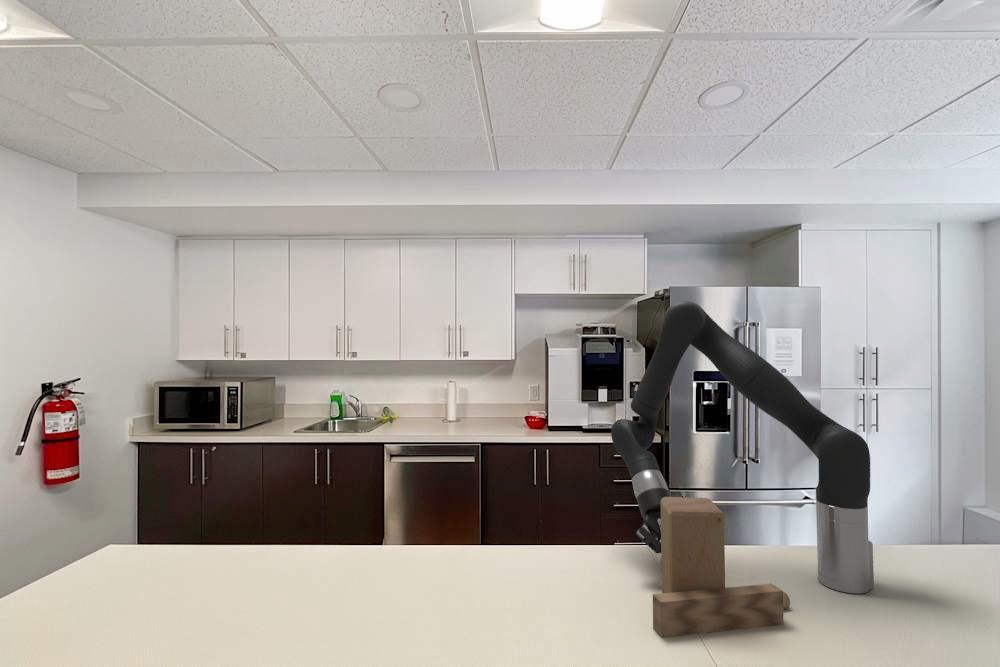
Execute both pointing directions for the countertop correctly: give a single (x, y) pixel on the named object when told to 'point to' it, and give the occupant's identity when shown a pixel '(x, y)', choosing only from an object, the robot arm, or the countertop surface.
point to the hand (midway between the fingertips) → (678, 571)
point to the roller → (786, 601)
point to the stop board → (717, 609)
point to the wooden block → (691, 545)
